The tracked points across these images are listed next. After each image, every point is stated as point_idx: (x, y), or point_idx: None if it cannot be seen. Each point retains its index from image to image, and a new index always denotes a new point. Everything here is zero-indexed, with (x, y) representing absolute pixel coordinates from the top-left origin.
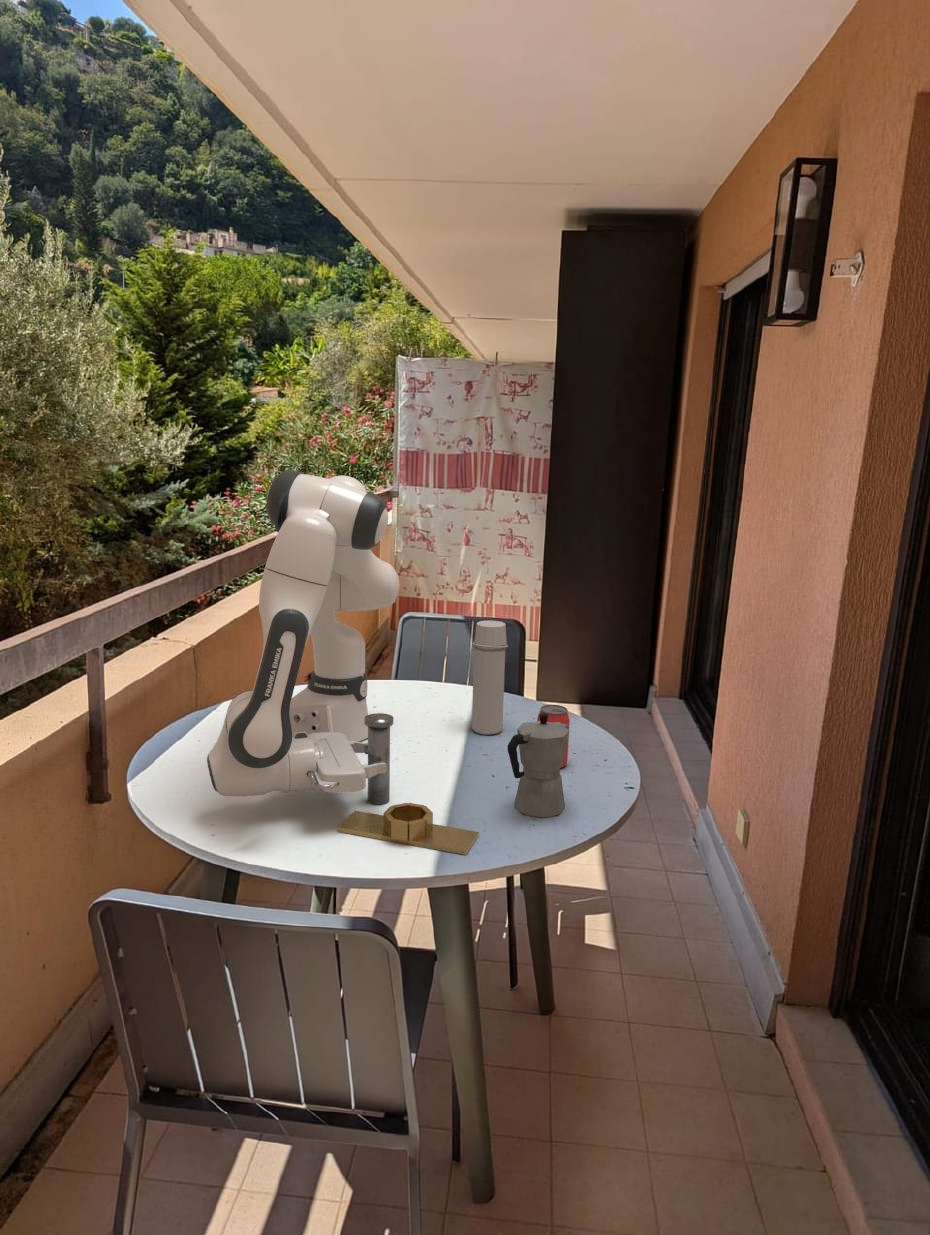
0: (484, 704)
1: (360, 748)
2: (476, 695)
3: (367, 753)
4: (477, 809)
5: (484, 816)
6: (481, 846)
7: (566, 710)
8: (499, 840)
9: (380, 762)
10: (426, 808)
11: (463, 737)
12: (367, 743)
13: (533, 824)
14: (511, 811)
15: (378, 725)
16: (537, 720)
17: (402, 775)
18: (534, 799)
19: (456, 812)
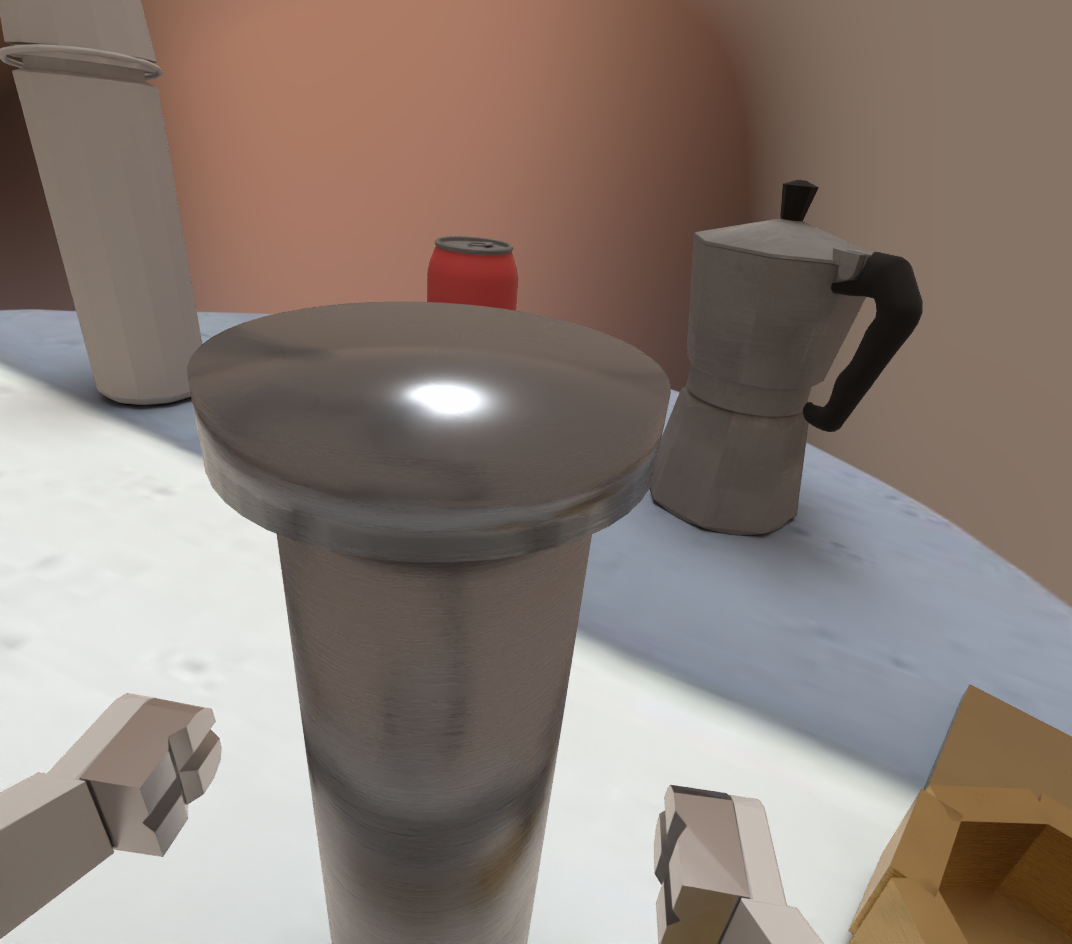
0: (157, 300)
1: (44, 859)
2: (111, 273)
3: (176, 828)
4: (704, 609)
5: (769, 615)
6: (1061, 728)
7: (502, 241)
8: (982, 656)
9: (721, 836)
10: (973, 797)
11: (128, 431)
12: (112, 744)
13: (836, 545)
14: (737, 548)
15: (657, 448)
16: (451, 285)
17: (209, 701)
18: (790, 477)
19: (720, 675)
